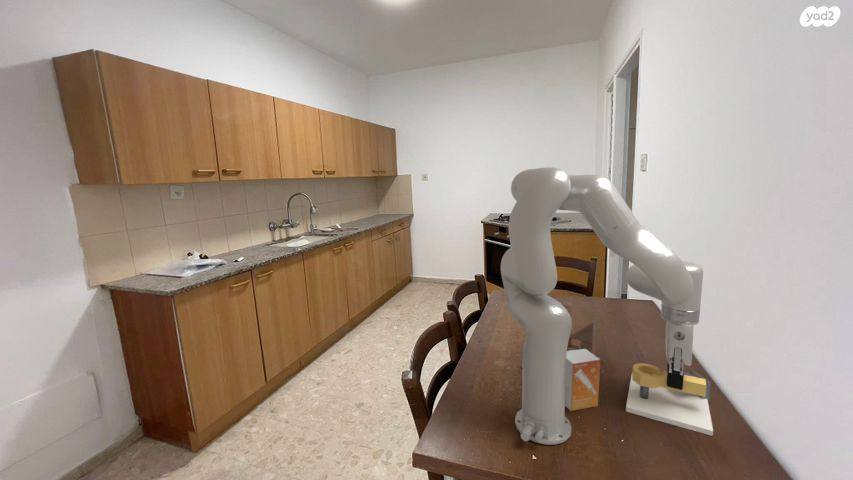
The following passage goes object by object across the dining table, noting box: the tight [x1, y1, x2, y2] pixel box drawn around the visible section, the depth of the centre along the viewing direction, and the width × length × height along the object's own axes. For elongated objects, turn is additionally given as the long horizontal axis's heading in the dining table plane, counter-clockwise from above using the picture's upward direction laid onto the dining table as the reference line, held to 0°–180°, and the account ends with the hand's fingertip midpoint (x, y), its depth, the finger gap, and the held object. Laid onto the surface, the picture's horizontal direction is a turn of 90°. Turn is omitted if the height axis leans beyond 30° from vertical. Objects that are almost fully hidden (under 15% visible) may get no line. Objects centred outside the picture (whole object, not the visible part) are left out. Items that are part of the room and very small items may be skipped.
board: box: [625, 373, 714, 437], centre depth 92 cm, size 18×17×1 cm
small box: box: [565, 348, 601, 412], centre depth 92 cm, size 8×6×13 cm
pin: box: [639, 386, 649, 399], centre depth 92 cm, size 2×2×6 cm
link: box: [631, 362, 706, 397], centre depth 89 cm, size 15×6×3 cm, turn 57°
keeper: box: [683, 371, 712, 404], centre depth 93 cm, size 7×5×6 cm
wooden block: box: [560, 301, 598, 356], centre depth 114 cm, size 4×11×18 cm, turn 50°
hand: (674, 383), depth 88 cm, fingers closed on link, 3 cm apart
